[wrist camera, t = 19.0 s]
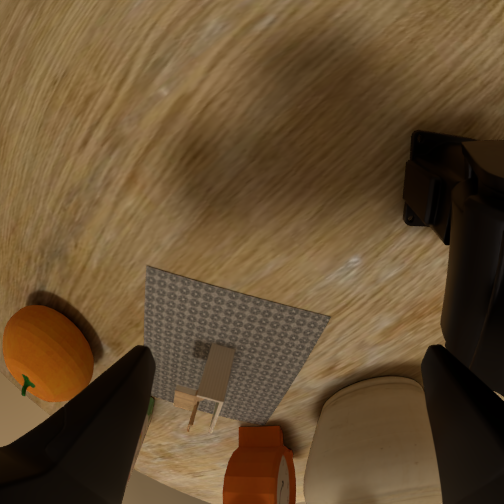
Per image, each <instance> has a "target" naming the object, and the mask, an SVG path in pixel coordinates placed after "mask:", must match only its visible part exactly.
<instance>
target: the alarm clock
mask: <svg viewBox="0 0 504 504" xmlns="http://www.w3.org/2000/svg"><path fill="white" fill-rule="evenodd" d="M295 501H296V478H295V468H294V463H293V452H292V450H291V449H288V448H287V447H285V446H283V432H282V430H281V428H280V426H260V427H239V447H238V448H237V449H236V450H235V451H234V452H233V454H232V456H231V458H230V460H229V462H228V465H227V469H226V473H225V477H224V485H223V504H295Z"/></svg>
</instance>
